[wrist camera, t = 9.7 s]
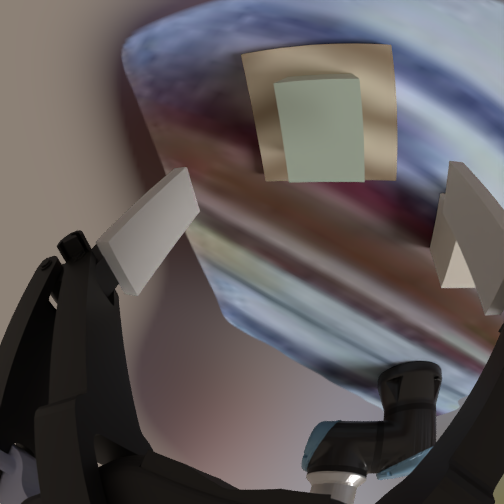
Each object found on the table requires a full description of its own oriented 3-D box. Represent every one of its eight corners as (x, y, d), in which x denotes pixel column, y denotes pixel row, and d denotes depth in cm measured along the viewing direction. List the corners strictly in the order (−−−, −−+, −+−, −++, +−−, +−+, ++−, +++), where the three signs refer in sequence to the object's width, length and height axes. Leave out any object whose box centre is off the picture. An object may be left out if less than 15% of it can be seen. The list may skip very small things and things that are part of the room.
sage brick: (358, 152, 25) (364, 181, 20) (299, 153, 27) (288, 182, 22) (352, 73, 20) (359, 78, 15) (287, 76, 22) (273, 83, 17)
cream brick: (467, 249, 29) (482, 287, 24) (429, 248, 31) (441, 287, 26) (481, 196, 24) (504, 230, 19) (440, 193, 26) (459, 227, 21)
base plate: (393, 174, 27) (396, 180, 26) (268, 175, 31) (265, 181, 30) (388, 45, 19) (391, 45, 17) (245, 54, 23) (240, 54, 22)
